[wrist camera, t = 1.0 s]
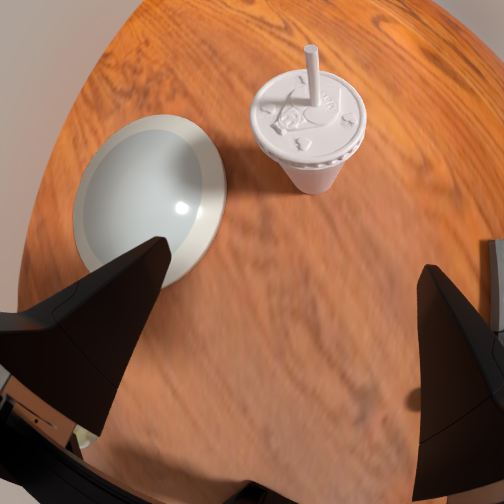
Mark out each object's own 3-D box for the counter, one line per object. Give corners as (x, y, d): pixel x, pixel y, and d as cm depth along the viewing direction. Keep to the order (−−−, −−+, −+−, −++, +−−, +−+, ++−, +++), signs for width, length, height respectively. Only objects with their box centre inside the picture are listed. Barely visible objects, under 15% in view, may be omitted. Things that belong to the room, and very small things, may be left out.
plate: (158, 331, 24) (151, 333, 23) (61, 232, 29) (54, 231, 28) (266, 161, 24) (263, 155, 22) (138, 102, 28) (132, 97, 27)
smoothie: (366, 180, 22) (411, 70, 8) (306, 226, 22) (288, 149, 9) (317, 127, 23) (306, 0, 9) (259, 168, 24) (196, 59, 10)
